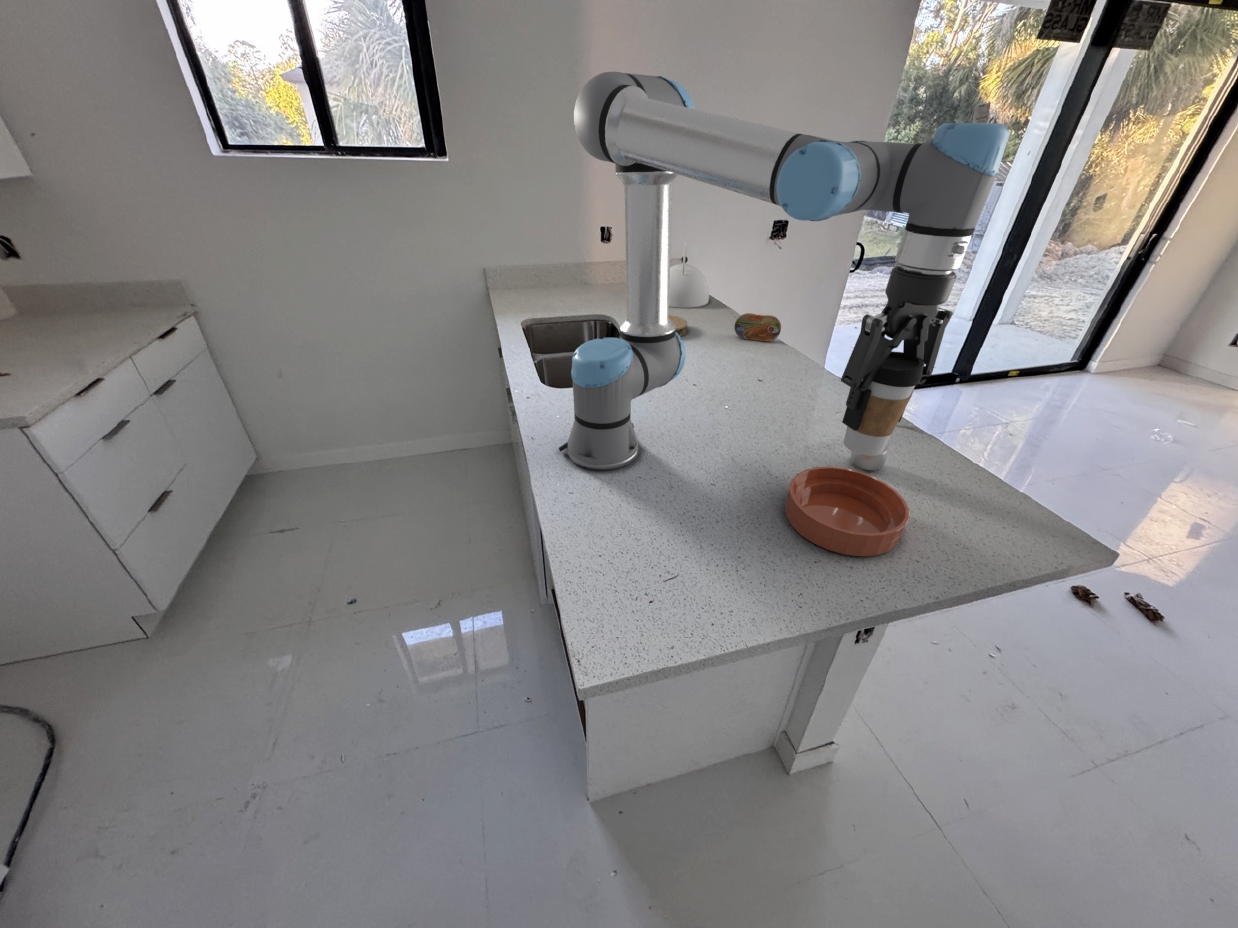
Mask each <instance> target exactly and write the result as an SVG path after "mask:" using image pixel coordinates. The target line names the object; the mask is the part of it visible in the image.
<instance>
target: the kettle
mask: <svg viewBox="0 0 1238 928" xmlns="http://www.w3.org/2000/svg"><path fill="white" fill-rule="evenodd" d="M687 248H688V241H687V240H685V241H684V247H683V256H682V257H681V259H680V260H681V263H679V264H678V263H677V264H675V265H672V266H670V286H669V308H683V309H684V308H688V309H689V308H698V307H702V306H705V305H708V303H709V301H710V300H709V299H710V287H709V282H708V280H707V278H706V276H705V274H704V273H703V271H701V270H700V269H699V268H698V267H696V266H695V265H692V264H688V260H689V259H688V256H687V251H688V250H687Z"/></svg>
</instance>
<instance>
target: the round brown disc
mask: <svg viewBox="0 0 1238 928" xmlns="http://www.w3.org/2000/svg"><path fill="white" fill-rule="evenodd" d="M669 319H670V320H671V321H672V322H673V323H674V324H675V326H676V333H678V335H679V336H680V337H681V336H684V335H685V334H686V333H687V330H688V329H687V328H688V321H687V320H686V319H684V318H683V317H680V316H677V315H670V314H669Z"/></svg>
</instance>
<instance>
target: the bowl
mask: <svg viewBox="0 0 1238 928" xmlns="http://www.w3.org/2000/svg"><path fill="white" fill-rule="evenodd" d="M784 512H785V516H786V518H787V519H788V522H789V524H790V525H791V526H792V527H793V528H794V530H795V531H797V532H798V534H800V535H801V536H802V537H803V538H805V539H807V540H808V541H810V542H811V543H813V544H815V545H816V546H819V547H821V548H823V549H825V550H828V551H831V552H835V553H838V554H841V555H846V556H854V557H874V556H879V555H882V554H885V553H888V552H890V551H892V549H894V548H895V547H897V545H898V544H899V542H900V540H901V537H902V536H903V534H904V531H905V530H906V529H905V528H906V526H907V525H908V523H909V521H910V508H909V506H908V503H907V502H906V500H905V498H904V497H903V496H902V495H901V494H900V493H899V492H898V491H897V490H896V489H894V488H893V487H892V486H890V485H889V484H888V483H886V482H885V481H883V480H881V479H879V478H876V477H875V476H873V475H869V474H867V473H864V472H862V471H859V470H855V469H851V468H846V467H840V466H839V467H838V466H816V467H810V468H807V469H804V470H802V471H800V472H798V473H797V474H796V475H795V476H794V477H793V478H792V479H791V481H790V483H789V487H788V491H787V495H786V500H785V502H784Z"/></svg>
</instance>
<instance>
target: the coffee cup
mask: <svg viewBox="0 0 1238 928" xmlns="http://www.w3.org/2000/svg"><path fill="white" fill-rule="evenodd" d="M924 366H925V364H924V360H923V359H921V358H918V359H917V362H913V361H910V360H908V359H906V358H905V356H904V354H903V351H893V350H892V351H891V353H890V354H889V356H888V358H887V359H886V361H885V362H884V364H883V365H882V367H880V369H879V371H878V373H877V375H876V376H875V377H874V379H873V381H872V382H871V384H870V385H869V387H868V389H869V390H870V391H871V394H870V397H869V400H868V403H867V406H866V409H865V412H864V415H863V418H862V420H861V423H860V426H859V429H858V430H856V431H854V430H852V429H851V428H850V427H848V426H847V425H846V430H845V434H844V438H843V444H844V446H845V447H846V448H847V449H848V450H850V452H851V451H853V452H855V453H858V454H862V455H867V456H875V455H879V454H881V453H882V452H883V450H884V448H885V446H886V444H887V442H888V440H889V438H890V436H891V437H892V435H893V433H894V430H895V429H896V426H897V425H898V423H899V422H898V421H899V419H900V417H901V415H902V413H903V412H904V413H905V411H906V408H907V406H908V404H909V402H910V400H911V398H912V396H913V393H912V391H913V392H914V390H915V388H916V386H918V385H920V384H919V383H920V380H921V378H922V372H923V368H924ZM861 381H863V379H862V380H861ZM914 387H915V388H914ZM913 389H914V390H913ZM904 410H905V411H904ZM904 413H903V414H904ZM892 432H893V433H892ZM891 434H892V435H891Z"/></svg>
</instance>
